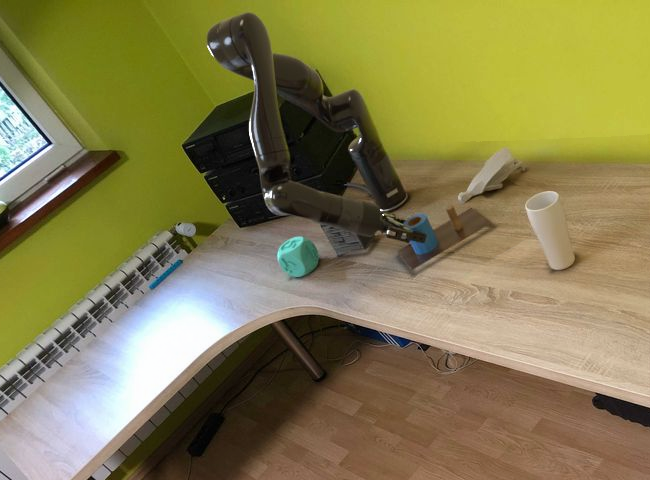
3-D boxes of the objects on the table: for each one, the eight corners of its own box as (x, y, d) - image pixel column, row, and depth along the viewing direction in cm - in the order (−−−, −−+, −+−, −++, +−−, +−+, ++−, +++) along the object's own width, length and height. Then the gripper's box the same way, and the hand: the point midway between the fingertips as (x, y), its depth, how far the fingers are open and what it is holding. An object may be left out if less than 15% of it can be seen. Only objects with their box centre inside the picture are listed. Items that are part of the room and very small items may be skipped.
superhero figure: (512, 168, 173) (451, 201, 169) (504, 135, 168) (441, 169, 163) (534, 175, 165) (471, 210, 161) (527, 142, 160) (461, 177, 155)
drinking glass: (581, 250, 131) (561, 187, 122) (576, 270, 126) (556, 206, 118) (549, 255, 134) (528, 194, 125) (543, 275, 130) (521, 213, 121)
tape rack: (398, 256, 160) (385, 232, 155) (473, 212, 161) (462, 186, 157) (414, 274, 150) (401, 249, 146) (493, 227, 152) (483, 201, 147)
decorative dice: (310, 275, 172) (295, 251, 167) (288, 279, 175) (272, 256, 171) (323, 257, 177) (308, 233, 172) (300, 261, 181) (286, 238, 176)
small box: (379, 239, 171) (361, 206, 165) (368, 253, 168) (350, 220, 161) (348, 243, 177) (330, 211, 171) (337, 257, 173) (318, 225, 167)
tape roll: (412, 248, 157) (399, 223, 152) (433, 236, 157) (420, 210, 153) (420, 257, 152) (407, 231, 148) (441, 245, 152) (429, 218, 148)
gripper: (368, 210, 137) (434, 227, 145) (352, 191, 149) (414, 208, 156) (358, 242, 140) (424, 258, 148) (343, 222, 152) (404, 237, 159)
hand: (419, 232), depth 152 cm, fingers open, 8 cm apart
